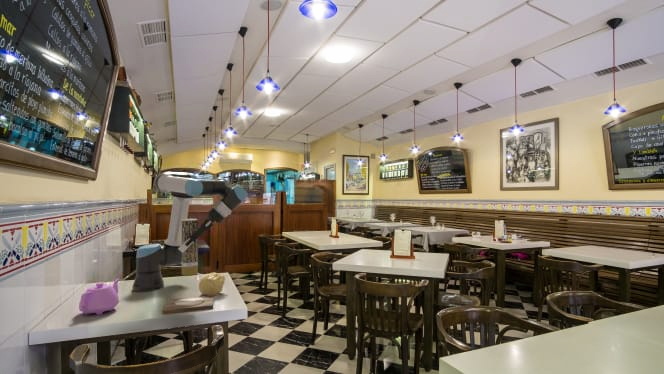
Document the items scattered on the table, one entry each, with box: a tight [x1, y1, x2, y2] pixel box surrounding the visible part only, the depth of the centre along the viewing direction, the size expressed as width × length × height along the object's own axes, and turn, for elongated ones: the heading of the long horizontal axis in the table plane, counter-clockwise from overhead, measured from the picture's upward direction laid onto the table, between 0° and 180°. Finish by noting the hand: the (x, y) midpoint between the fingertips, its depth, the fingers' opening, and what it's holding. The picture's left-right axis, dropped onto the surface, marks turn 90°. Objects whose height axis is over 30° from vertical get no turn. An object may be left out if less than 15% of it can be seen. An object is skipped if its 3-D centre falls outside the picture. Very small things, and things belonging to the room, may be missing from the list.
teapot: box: [78, 277, 120, 316], centre depth 147 cm, size 20×14×12 cm
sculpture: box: [198, 272, 226, 296], centre depth 172 cm, size 11×12×11 cm
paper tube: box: [181, 218, 199, 277], centre depth 154 cm, size 7×7×25 cm
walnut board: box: [161, 295, 215, 315], centre depth 153 cm, size 16×20×2 cm
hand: (181, 249), depth 153 cm, fingers closed on paper tube, 7 cm apart
